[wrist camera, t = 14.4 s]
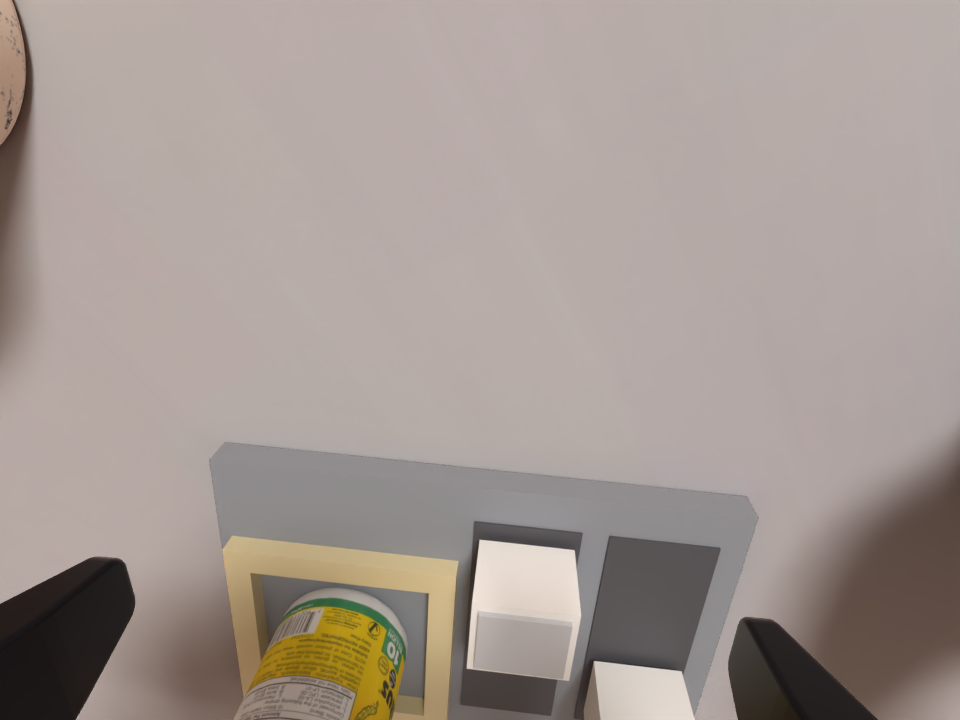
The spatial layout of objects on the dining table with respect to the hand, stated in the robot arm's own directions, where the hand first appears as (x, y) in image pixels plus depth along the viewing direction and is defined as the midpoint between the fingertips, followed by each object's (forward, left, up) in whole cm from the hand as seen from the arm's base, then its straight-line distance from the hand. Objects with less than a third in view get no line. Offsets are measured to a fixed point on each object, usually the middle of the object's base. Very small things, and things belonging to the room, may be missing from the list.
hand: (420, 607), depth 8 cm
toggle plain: (-2, +9, -11) cm, 14 cm away
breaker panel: (0, +13, -12) cm, 18 cm away
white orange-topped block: (-7, +15, -11) cm, 20 cm away
